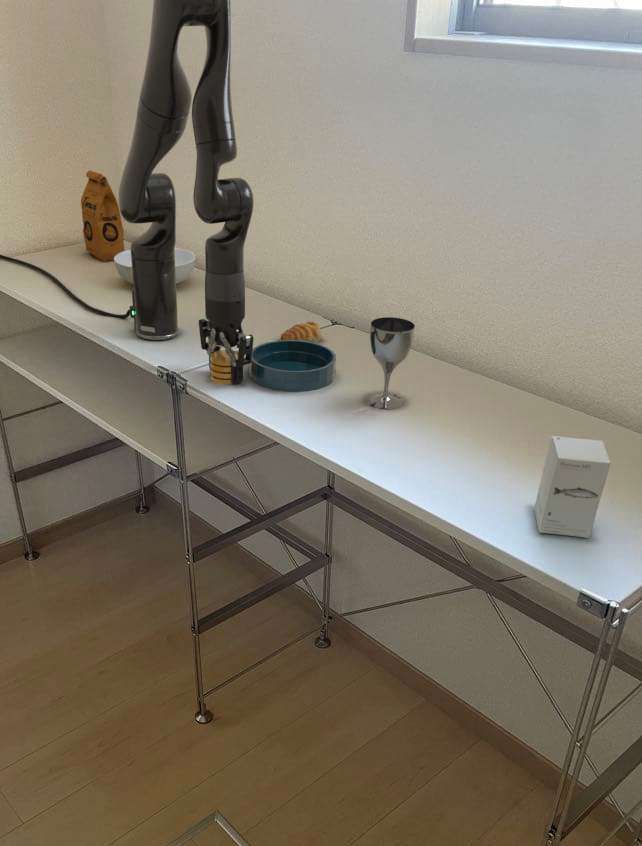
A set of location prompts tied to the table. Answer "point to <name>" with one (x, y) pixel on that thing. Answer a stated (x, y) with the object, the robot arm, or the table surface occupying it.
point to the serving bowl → (182, 264)
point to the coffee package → (101, 219)
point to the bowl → (292, 365)
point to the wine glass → (390, 352)
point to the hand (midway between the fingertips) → (226, 377)
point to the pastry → (303, 332)
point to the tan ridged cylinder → (221, 367)
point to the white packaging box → (571, 486)
